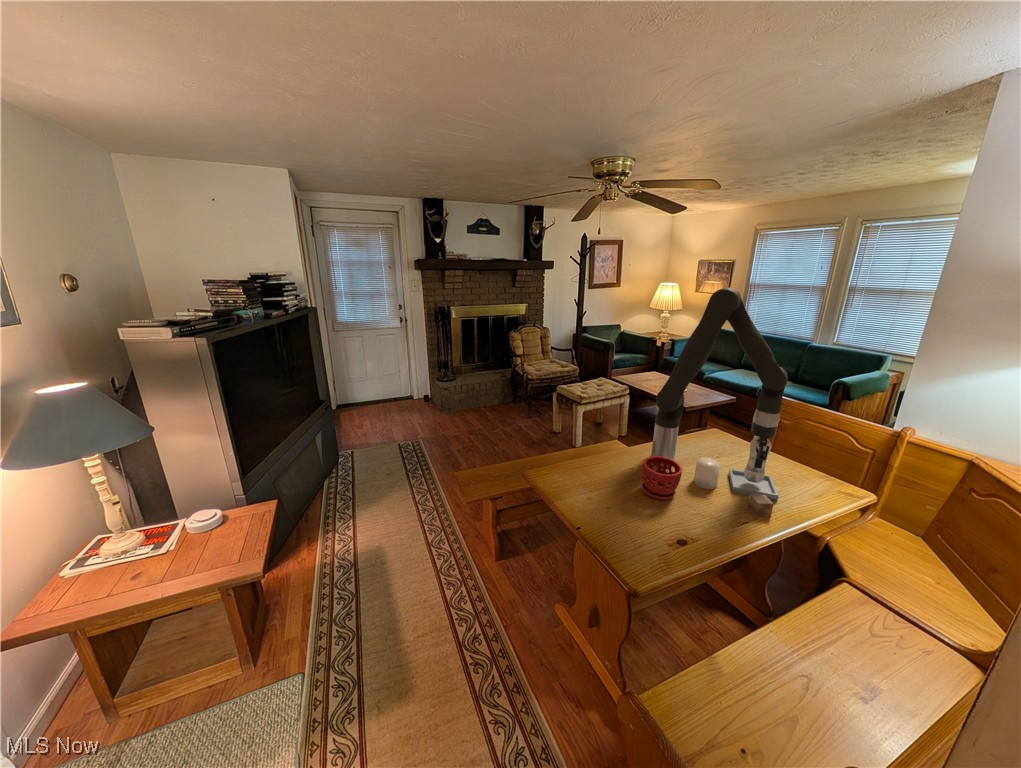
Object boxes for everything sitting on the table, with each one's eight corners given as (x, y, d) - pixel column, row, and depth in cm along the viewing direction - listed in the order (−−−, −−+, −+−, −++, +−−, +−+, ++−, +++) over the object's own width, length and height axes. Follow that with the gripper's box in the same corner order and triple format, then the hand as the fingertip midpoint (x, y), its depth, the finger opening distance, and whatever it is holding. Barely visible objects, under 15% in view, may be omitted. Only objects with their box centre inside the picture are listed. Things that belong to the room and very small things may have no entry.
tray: (732, 492, 138) (733, 486, 137) (728, 473, 150) (729, 468, 150) (777, 501, 133) (778, 495, 132) (769, 481, 145) (770, 475, 144)
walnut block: (755, 515, 126) (758, 503, 124) (747, 506, 130) (750, 494, 129) (770, 516, 125) (773, 503, 124) (762, 507, 130) (765, 494, 128)
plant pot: (634, 494, 138) (637, 465, 134) (649, 479, 147) (652, 452, 143) (669, 508, 130) (674, 478, 126) (683, 492, 139) (687, 463, 135)
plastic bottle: (738, 476, 144) (748, 428, 137) (755, 475, 144) (765, 427, 138) (750, 485, 137) (761, 436, 131) (767, 484, 138) (779, 435, 132)
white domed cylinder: (693, 486, 142) (697, 465, 140) (693, 475, 149) (696, 455, 147) (717, 490, 139) (721, 469, 137) (715, 480, 146) (719, 459, 143)
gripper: (749, 413, 141) (741, 453, 146) (756, 428, 129) (747, 471, 134) (773, 416, 138) (764, 456, 143) (782, 431, 126) (772, 475, 131)
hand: (756, 463), depth 139 cm, fingers closed on plastic bottle, 5 cm apart
